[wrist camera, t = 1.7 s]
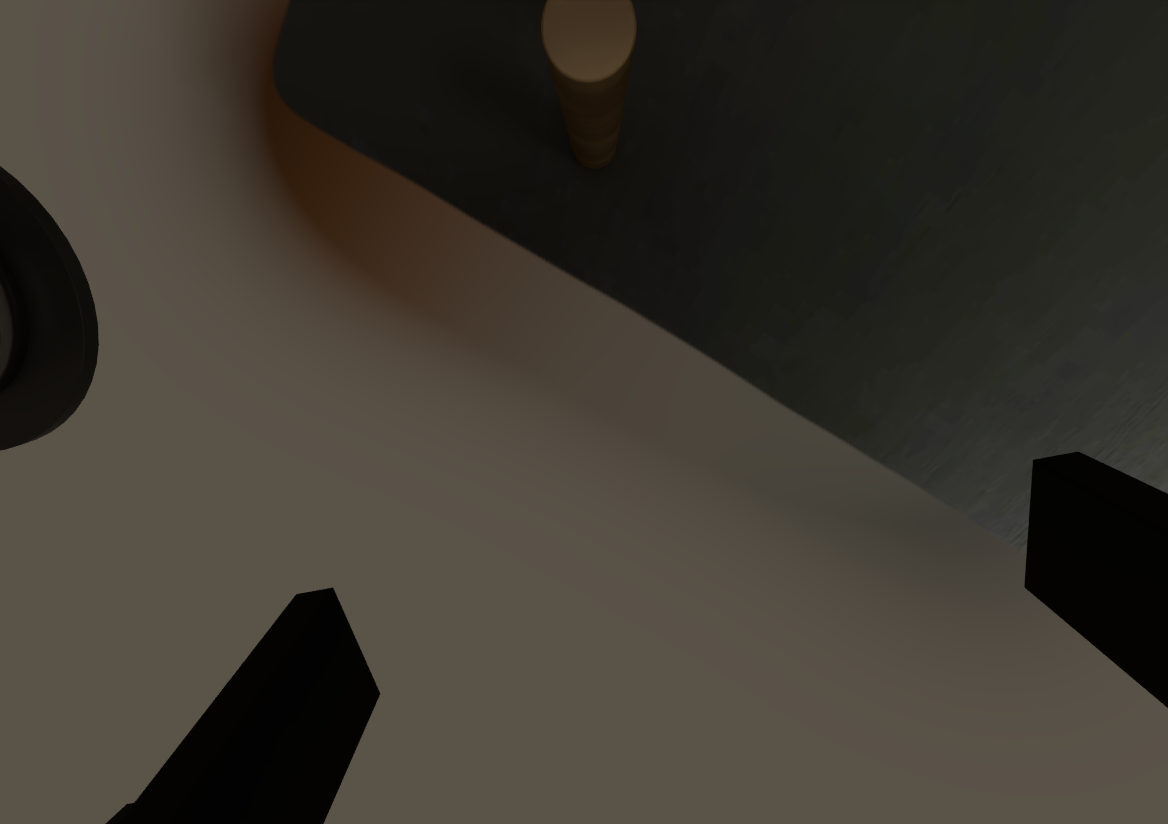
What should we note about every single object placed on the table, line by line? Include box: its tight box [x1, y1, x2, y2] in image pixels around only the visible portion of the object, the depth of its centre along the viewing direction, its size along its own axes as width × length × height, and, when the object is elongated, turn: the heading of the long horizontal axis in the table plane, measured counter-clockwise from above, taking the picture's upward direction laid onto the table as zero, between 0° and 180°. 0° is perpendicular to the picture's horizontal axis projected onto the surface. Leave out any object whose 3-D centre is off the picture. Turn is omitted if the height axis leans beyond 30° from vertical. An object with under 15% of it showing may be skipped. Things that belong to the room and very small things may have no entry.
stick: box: [541, 0, 637, 169], centre depth 23 cm, size 3×3×18 cm
